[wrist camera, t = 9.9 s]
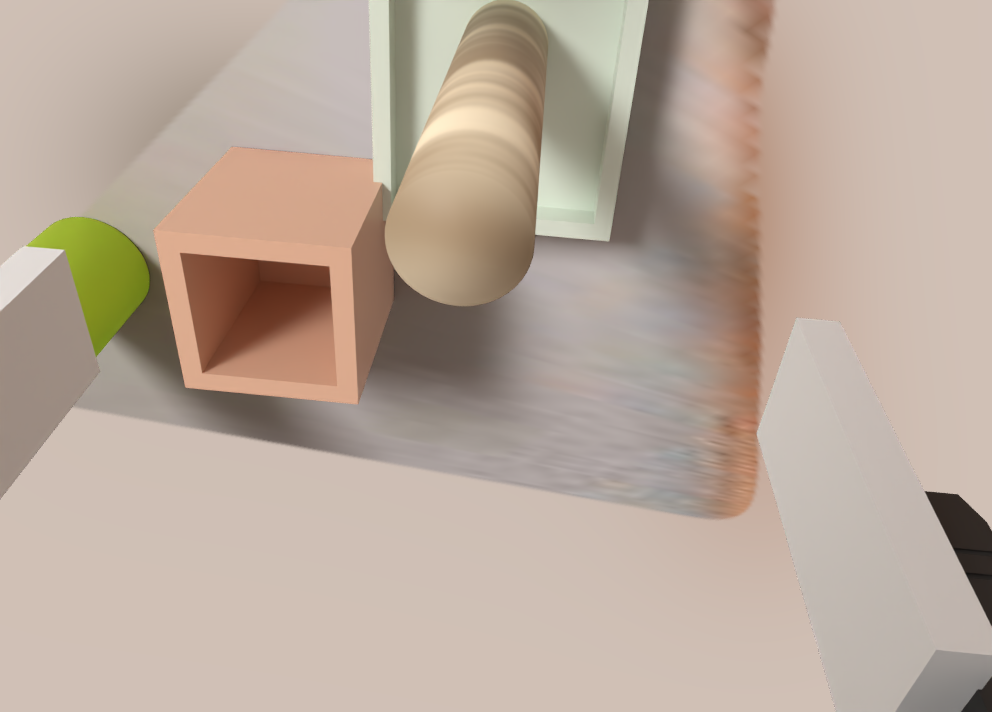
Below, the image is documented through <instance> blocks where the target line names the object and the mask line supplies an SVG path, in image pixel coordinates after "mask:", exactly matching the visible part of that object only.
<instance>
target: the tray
mask: <svg viewBox="0 0 992 712" xmlns="http://www.w3.org/2000/svg"><path fill="white" fill-rule="evenodd" d="M492 1H496V0H369V29H370V68H371V106H372V145H373V182H380V183H382V198H383V221H386V220H387V216H388V214H389V211H390V208H391V206H392V204H393V201H394V199H395V196H396V194H397V192H398V189H399V187H400V184H401V182H402V180H403V177H404V175H405V172H406V170H407V168H408V165H409V163H410V160H411V158H412V156H413V153H414V151H415V148H416V146H417V144H418V141H419V139H420V136H421V134H422V132H423V129H424V127H425V124H426V122H427V120H428V117H429V115H430V113H431V110H432V108H433V105H434V103H435V101H436V98H437V96H438V93H439V91H440V89H441V86H442V84H443V81H444V79H445V77H446V74H447V72H448V69H449V67H450V65H451V62H452V60H453V57H454V55H455V53H456V50H457V48H458V45H459V43H460V41H461V38H462V36H463V33H464V31H465V29H466V26H467V24H468V22H469V20H470V19H471V17H472V16H473V14H474V13H475V12H476V11H477V10H478V9H480V8H481V7H482V6H484V5H486V4H487V3H490V2H492ZM515 1H518V2H521V3H523V4H525V5H527V6H528V7H530V8H531V9H532V10H534V11H535V12H536V13H537V15H538V16H539V17H540V19H541V20H542V22H543V24H544V26H545V28H546V31H547V36H548V58H547V72H546V87H545V101H544V115H543V129H542V144H541V158H540V172H539V187H538V201H537V215H536V230H535V235H544V236H555V237H566V238H577V239H587V240H598V241H609V240H610V234H611V228H612V222H613V216H614V210H615V203H616V197H617V191H618V185H619V179H620V173H621V167H622V161H623V155H624V148H625V142H626V136H627V130H628V124H629V118H630V112H631V106H632V100H633V93H634V87H635V81H636V75H637V69H638V63H639V57H640V51H641V44H642V38H643V32H644V26H645V20H646V14H647V8H648V2H649V0H515Z"/></svg>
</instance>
